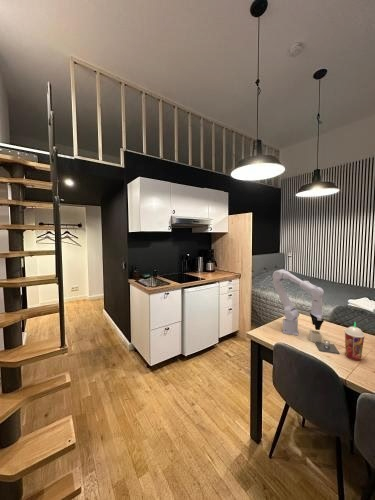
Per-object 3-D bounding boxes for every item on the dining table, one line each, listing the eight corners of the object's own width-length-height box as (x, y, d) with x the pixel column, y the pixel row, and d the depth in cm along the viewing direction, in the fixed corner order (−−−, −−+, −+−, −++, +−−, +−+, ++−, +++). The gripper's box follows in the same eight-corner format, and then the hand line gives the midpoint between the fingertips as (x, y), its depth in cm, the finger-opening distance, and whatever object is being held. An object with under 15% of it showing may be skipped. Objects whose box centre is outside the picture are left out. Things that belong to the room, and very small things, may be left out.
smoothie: (364, 363, 110) (366, 326, 108) (344, 358, 114) (346, 323, 113) (361, 356, 117) (363, 321, 115) (342, 351, 121) (344, 318, 120)
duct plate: (319, 351, 122) (319, 344, 121) (315, 342, 131) (315, 336, 131) (339, 354, 118) (339, 347, 118) (333, 345, 128) (334, 338, 127)
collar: (311, 341, 133) (311, 333, 132) (309, 337, 138) (309, 330, 138) (321, 342, 131) (321, 335, 131) (319, 338, 136) (319, 331, 136)
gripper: (327, 311, 125) (326, 333, 126) (321, 303, 138) (320, 323, 139) (314, 309, 127) (313, 331, 128) (308, 302, 141) (308, 322, 142)
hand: (316, 327), depth 134 cm, fingers open, 7 cm apart
